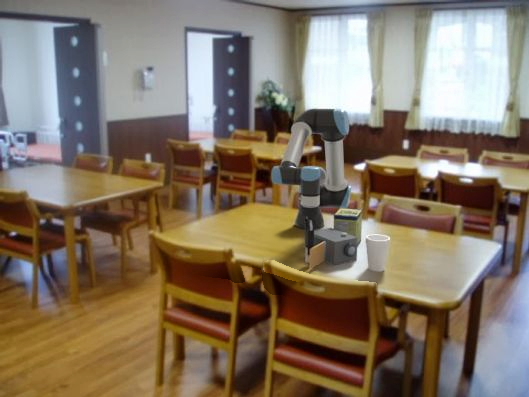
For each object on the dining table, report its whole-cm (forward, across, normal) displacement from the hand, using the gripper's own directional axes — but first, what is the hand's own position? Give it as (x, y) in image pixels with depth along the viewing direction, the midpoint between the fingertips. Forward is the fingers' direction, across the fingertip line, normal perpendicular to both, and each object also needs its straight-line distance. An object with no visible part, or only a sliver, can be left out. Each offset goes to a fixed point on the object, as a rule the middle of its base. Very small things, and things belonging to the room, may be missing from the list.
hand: (308, 261), depth 220 cm
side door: (+1, +1, +4) cm, 4 cm away
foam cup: (+2, +4, +27) cm, 27 cm away
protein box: (+2, -28, +21) cm, 35 cm away
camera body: (+2, -11, +11) cm, 16 cm away
